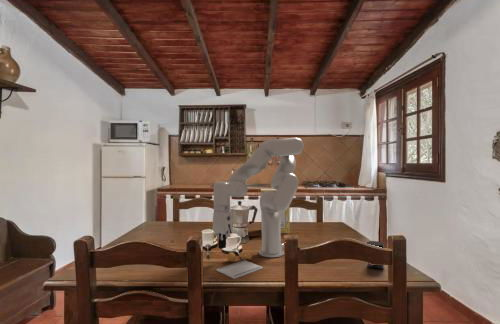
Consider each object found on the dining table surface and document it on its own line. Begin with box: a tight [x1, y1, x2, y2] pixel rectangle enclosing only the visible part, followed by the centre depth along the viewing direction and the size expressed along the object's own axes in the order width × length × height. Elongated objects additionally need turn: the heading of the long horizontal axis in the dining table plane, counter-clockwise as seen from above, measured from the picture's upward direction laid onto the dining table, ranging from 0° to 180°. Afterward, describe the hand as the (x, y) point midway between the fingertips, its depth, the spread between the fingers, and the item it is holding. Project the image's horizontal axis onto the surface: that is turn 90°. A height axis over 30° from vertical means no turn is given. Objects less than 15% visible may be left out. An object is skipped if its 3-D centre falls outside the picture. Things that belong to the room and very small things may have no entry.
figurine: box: [226, 252, 253, 262], centre depth 133 cm, size 8×6×12 cm
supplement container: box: [366, 240, 385, 270], centre depth 122 cm, size 7×7×10 cm
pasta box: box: [260, 188, 291, 234], centre depth 188 cm, size 18×10×28 cm, turn 88°
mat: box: [216, 259, 264, 280], centre depth 122 cm, size 16×12×1 cm
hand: (222, 247), depth 131 cm, fingers closed
